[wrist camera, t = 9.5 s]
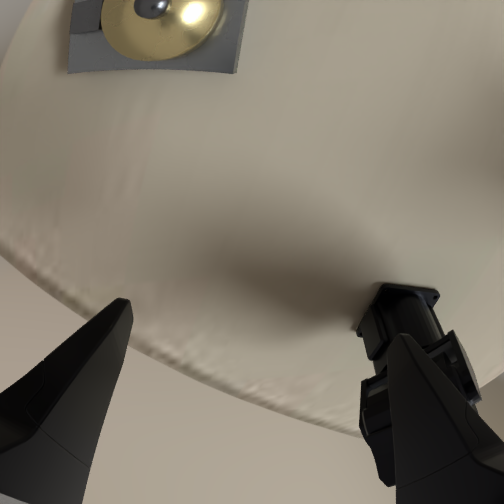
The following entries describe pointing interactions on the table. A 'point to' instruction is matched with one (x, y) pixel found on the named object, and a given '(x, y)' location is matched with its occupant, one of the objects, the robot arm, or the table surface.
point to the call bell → (156, 35)
